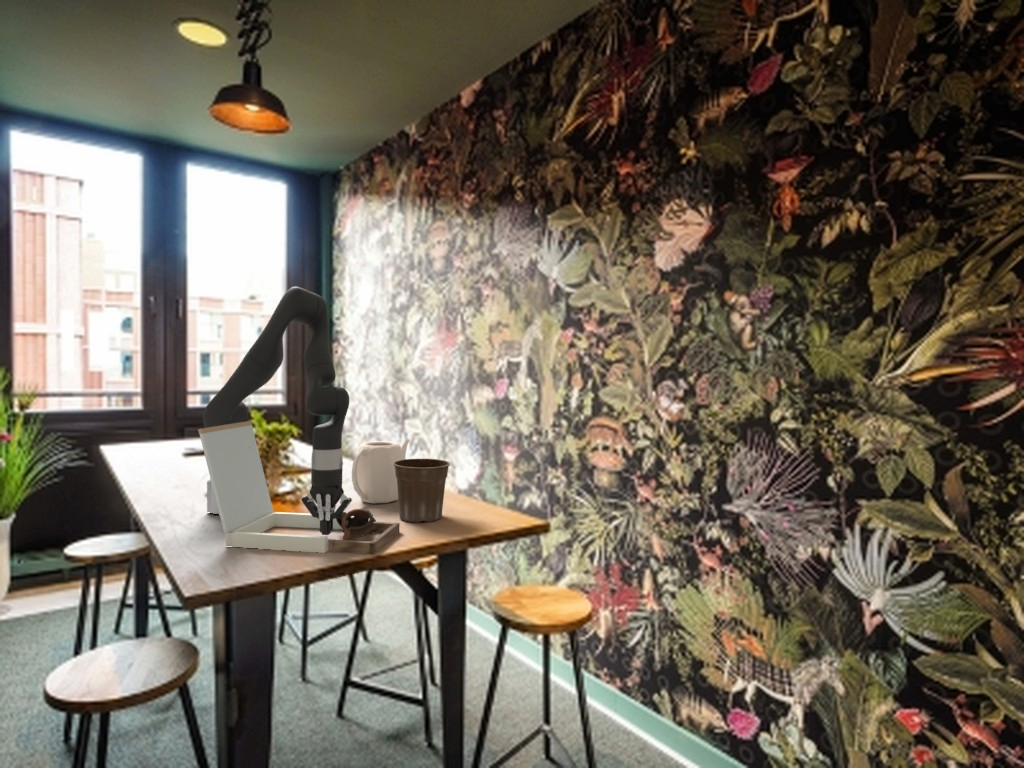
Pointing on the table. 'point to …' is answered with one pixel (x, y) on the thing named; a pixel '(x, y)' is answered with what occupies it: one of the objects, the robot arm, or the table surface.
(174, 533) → the table surface
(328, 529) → the robot arm
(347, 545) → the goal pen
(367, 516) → the pottery mug
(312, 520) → the cold frame
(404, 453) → the watering can
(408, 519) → the plant pot
